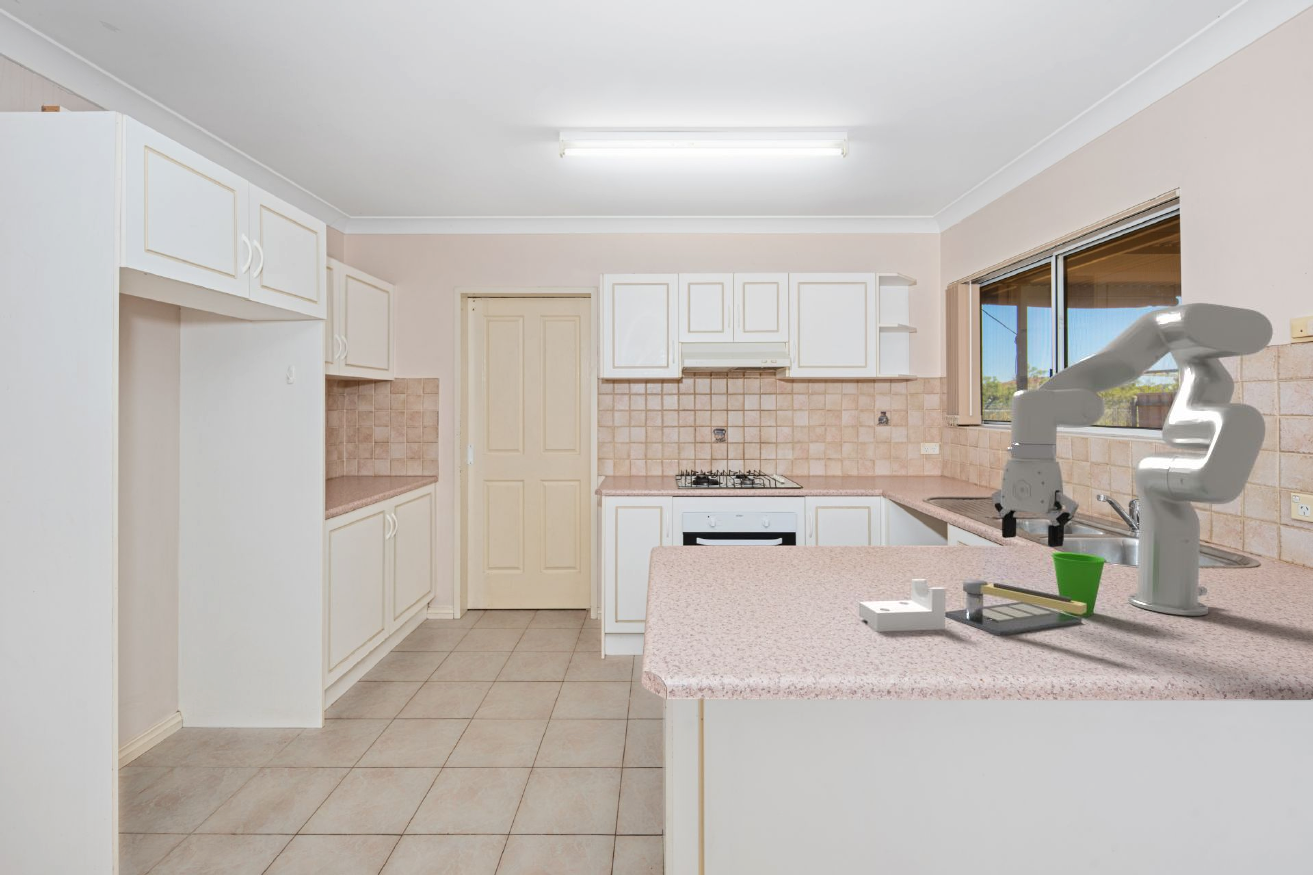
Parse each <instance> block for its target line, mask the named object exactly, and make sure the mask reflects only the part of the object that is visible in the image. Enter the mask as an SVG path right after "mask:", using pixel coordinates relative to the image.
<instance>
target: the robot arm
mask: <svg viewBox="0 0 1313 875" xmlns="http://www.w3.org/2000/svg"><path fill="white" fill-rule="evenodd" d="M1273 334H1274V332H1273V325H1272V323H1271V321H1270V320H1269V318H1268V317H1267V316H1266V315H1264V314H1263V313H1261V312H1259V311H1257V310H1253V309H1249V308H1242V307H1235V306H1234V307H1233V306H1229V305H1222V304H1216V303H1205V302H1204V303H1203V302H1195V303H1194V302H1192V303H1186V304H1181V305H1177V306H1171V307H1164V308H1160V309H1155V310H1151V311H1149V312H1147V313H1146V312H1145V314H1143V315H1141V316H1139V317H1138V318H1137V319H1136V320H1135V321H1133V323H1131V324H1130V325H1129V326H1127V327H1126V328H1125V329H1124V330H1123V331H1122V332H1121V333H1120V334H1118V335H1117V336H1116V337H1115V338H1114V339H1113V340H1112V341H1110V342H1109V343H1108V344H1107V345H1105V346H1104V347H1103V348H1101V350H1099V351H1097V352H1094V353H1093V354H1091V355H1089V356H1086V357H1085V358H1083V359H1080V361H1077V362H1076V363H1073V364H1072V365H1069V366H1068V367H1066V368H1063V369H1062V370H1060V371H1058V372H1057V373H1055V374H1054V375H1052V376H1051V377H1049V378H1048V379H1047V380H1045V381H1044V382H1043V383H1042V384H1041V385H1039V386H1038V387H1037V388H1036V389H1034V388H1033V389H1020V390H1017V391H1015V392H1014V393H1013V394H1012V397H1011V423H1010V424H1011V430H1010V431H1011V432H1010V433H1011V434H1010V435H1011V436H1010V437H1011V438H1010V440H1011V441H1010V446H1007V448H1006V452H1007V453H1008V454H1010V459H1007V460H1006V462H1005V465H1004V469H1003V474H1002V479H1001V480H1002V481H1001V489H999V490H997V491H995V492H993V493H992V494H991V499H992V501H993V504H994V508H995V510H996V511H997V512H998V516H999V517H1000V518H1001V537H1002V538H1004V539H1010V538H1016V536H1017V517H1016V516H1015V515H1016V514H1017V512H1022V513H1028V514H1033V515H1035V514H1036V515H1044V516H1046V518H1047V520H1048V521H1049V522H1050V523H1051V524H1049V525H1048V526H1047V528H1048V529H1047V546H1048V547H1050V548H1051V547H1052V548H1056V547H1063V545H1064V539H1065V537H1064V536H1065V526H1067V525H1068V523H1069V522H1070V521H1071V520H1073V518H1074V516H1075V515H1076V514H1075V513H1076V512H1077V511H1078V509H1079V507H1080V504H1079V503H1077V502H1076V501H1075V500H1073V499H1072V498H1070V497H1069V496H1067V495H1065V494H1064V485H1063V476H1062V471H1061V470H1062V469H1061V465H1060V462H1059V461H1057V432H1058V431H1057V428H1064V429H1065V428H1066V429H1067V428H1068V429H1070V428H1071V429H1075V428H1076V429H1077V428H1078V429H1079V428H1087V427H1091V426H1092V425H1094V424H1096V423H1098V422H1099V421H1100V420H1101V419H1102V418H1103V416H1104V414H1105V411H1106V410H1105V409H1106V406H1105V401H1104V400H1103V398H1102V396H1100V395H1099V393H1101V392H1105V391H1109V390H1113V389H1118V388H1120V387H1123V386H1126V385H1128V384H1131V383H1134V382H1135V381H1137V380H1139V379H1140V378H1141V377H1142V376H1143V375H1144V374H1146V372H1148V371H1149V370H1150V369H1151V368H1152V367H1154V365H1155V364H1157V363H1158V362H1159V361H1161V360H1162V358H1164V357H1165V356H1166V355H1168V354H1169V353H1170V355H1171V356H1172V358H1173V360H1174V361H1175V363H1176V366H1177V368H1178V371H1179V374H1180V383H1179V386H1178V389H1177V391H1176V394H1175V397H1174V400H1173V401H1172V404H1171V406H1170V408H1169V411H1168V413H1167V416H1166V418H1165V420H1164V424H1163V426H1162V431H1161V436H1162V439H1163V442H1164V443H1165V444H1166V445H1168V446H1169V447H1171V448H1174V449H1178V450H1182V451H1195V452H1197V451H1198V452H1206V453H1192V452H1182V451H1181V452H1180V451H1179V452H1178V451H1177V452H1176V451H1159V452H1153V453H1150V454H1146V455H1145V456H1143V457H1142V458H1140V459H1139V461H1138V462H1137V464H1136V465H1135V468H1134V471H1133V472H1134V473H1133V475H1134V478H1133V479H1134V485H1135V489H1136V493H1137V498H1138V508H1139V510H1138V511H1139V520H1138V522H1139V528H1138V560H1137V561H1138V563H1137V565H1138V566H1137V567H1138V568H1137V593H1132V594H1131V593H1130V594H1129V595H1128V597H1127V598H1128V599H1127V601H1128V603H1130V604H1131V605H1132V606H1135V607H1138V608H1141V609H1144V610H1149V611H1153V612H1157V613H1162V614H1170V615H1177V616H1178V615H1179V616H1190V617H1191V616H1193V617H1195V616H1204V615H1207V614H1208V613H1209V607H1208V606H1207V605H1206V604H1204V603H1202V602H1199V597H1201V596H1206V595H1207V594H1208V590H1207V588H1206V587H1205V586H1203V585H1199V576H1200V575H1199V574H1200V570H1199V569H1200V539H1201V538H1200V535H1201V523H1200V519H1199V515H1198V514H1197V512H1196V510H1195V508H1194V506H1193V504H1192V503H1200V504H1207V505H1208V504H1210V505H1226V504H1229V503H1231V502H1233V501H1235V500H1237V498H1239V496H1240V495H1241V493H1242V492H1243V491H1244V488H1245V487H1246V485H1247V483H1248V480H1249V479H1250V478H1249V477H1250V476H1251V473H1252V471H1253V468H1254V465H1255V463H1256V461H1257V458H1258V456H1259V454H1260V451H1261V449H1262V447H1263V445H1264V440H1265V436H1266V421H1265V419H1264V417H1263V415H1262V413H1261V412H1260V411H1259V410H1258V409H1257V408H1256V407H1254V406H1253V405H1249V404H1246V403H1241V402H1231V400H1232V397H1233V394H1234V392H1235V382H1234V379H1233V378H1232V374H1230V372H1229V371H1228V370H1227V369H1226V367H1225V366H1224V364H1223V363H1222V361H1220V359H1222V358H1224V359H1225V358H1232V357H1242V356H1243V357H1244V356H1250V355H1253V354H1257V353H1259V352H1262V350H1264V349H1265V348H1267V347H1268V345H1269V344H1270V342H1271V340H1272V339H1273V338H1272V337H1273ZM1063 506H1064V507H1065V508H1064V511H1063V512H1062V510H1063Z"/></svg>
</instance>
